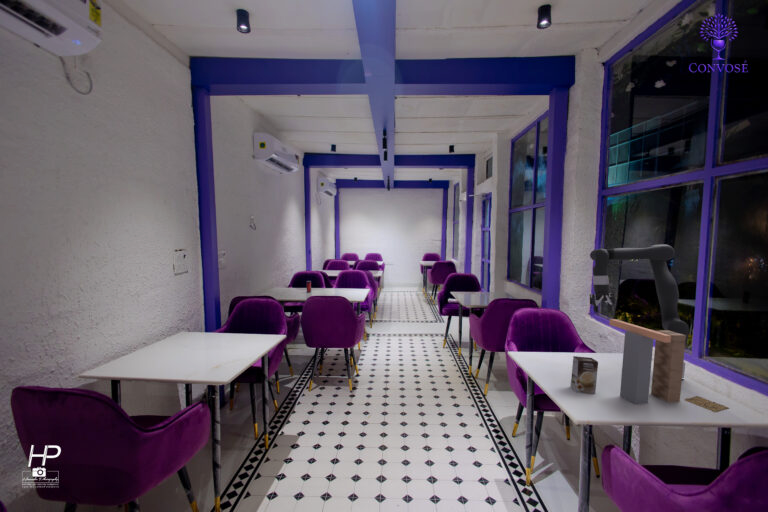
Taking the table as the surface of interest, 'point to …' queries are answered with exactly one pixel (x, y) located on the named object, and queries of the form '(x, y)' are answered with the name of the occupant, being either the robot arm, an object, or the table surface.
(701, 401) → the sandy brown tile
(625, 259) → the robot arm
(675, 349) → the walnut stand
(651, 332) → the bar
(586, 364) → the coffee box
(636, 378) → the grey stand
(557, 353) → the table surface
